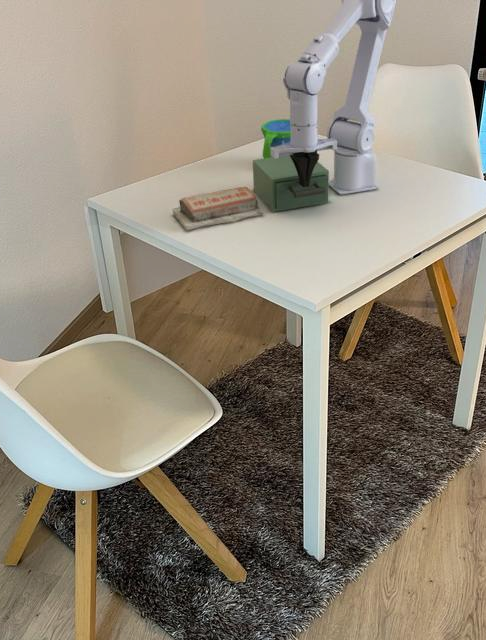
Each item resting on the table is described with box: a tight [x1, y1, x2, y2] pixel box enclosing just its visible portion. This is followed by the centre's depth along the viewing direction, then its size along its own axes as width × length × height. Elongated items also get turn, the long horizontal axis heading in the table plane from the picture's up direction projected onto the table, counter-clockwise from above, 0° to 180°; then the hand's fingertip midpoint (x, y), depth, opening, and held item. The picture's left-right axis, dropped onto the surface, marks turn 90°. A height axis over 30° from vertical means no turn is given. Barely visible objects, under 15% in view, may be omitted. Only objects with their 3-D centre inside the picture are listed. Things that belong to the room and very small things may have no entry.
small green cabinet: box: [252, 155, 330, 213], centre depth 169 cm, size 14×14×8 cm
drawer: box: [275, 175, 329, 210], centre depth 165 cm, size 17×12×6 cm
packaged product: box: [171, 186, 263, 231], centre depth 161 cm, size 18×5×10 cm
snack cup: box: [260, 118, 291, 159], centre depth 186 cm, size 16×10×10 cm
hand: (304, 185), depth 160 cm, fingers closed, pressing on drawer
